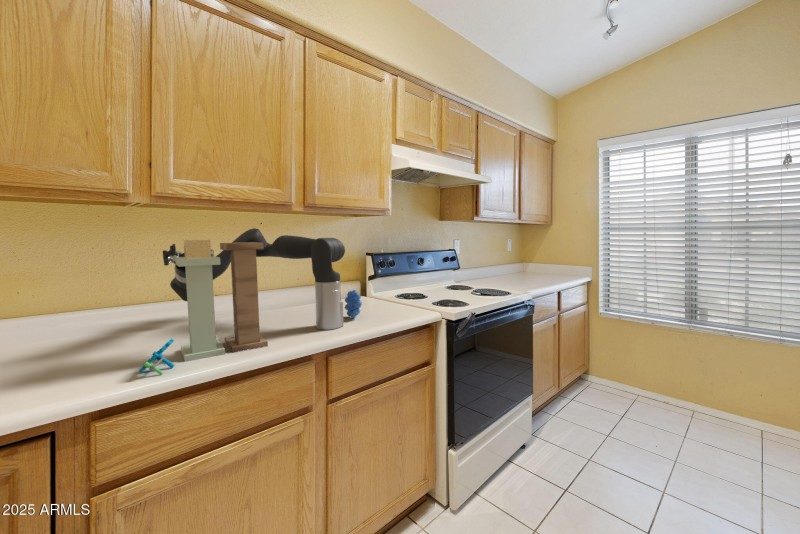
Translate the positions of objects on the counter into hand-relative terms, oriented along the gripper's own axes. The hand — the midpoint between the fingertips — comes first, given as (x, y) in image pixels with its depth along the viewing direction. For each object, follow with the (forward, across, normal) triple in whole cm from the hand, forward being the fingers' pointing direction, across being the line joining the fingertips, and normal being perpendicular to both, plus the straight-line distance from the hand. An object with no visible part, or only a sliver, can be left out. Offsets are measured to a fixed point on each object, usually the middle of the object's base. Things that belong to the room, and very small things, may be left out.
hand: (190, 246), depth 110 cm
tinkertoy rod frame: (+3, +10, -38) cm, 39 cm away
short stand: (-5, -1, -33) cm, 33 cm away
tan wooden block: (+4, -1, -6) cm, 7 cm away
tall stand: (-5, -13, -33) cm, 36 cm away
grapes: (-15, -58, -27) cm, 66 cm away
